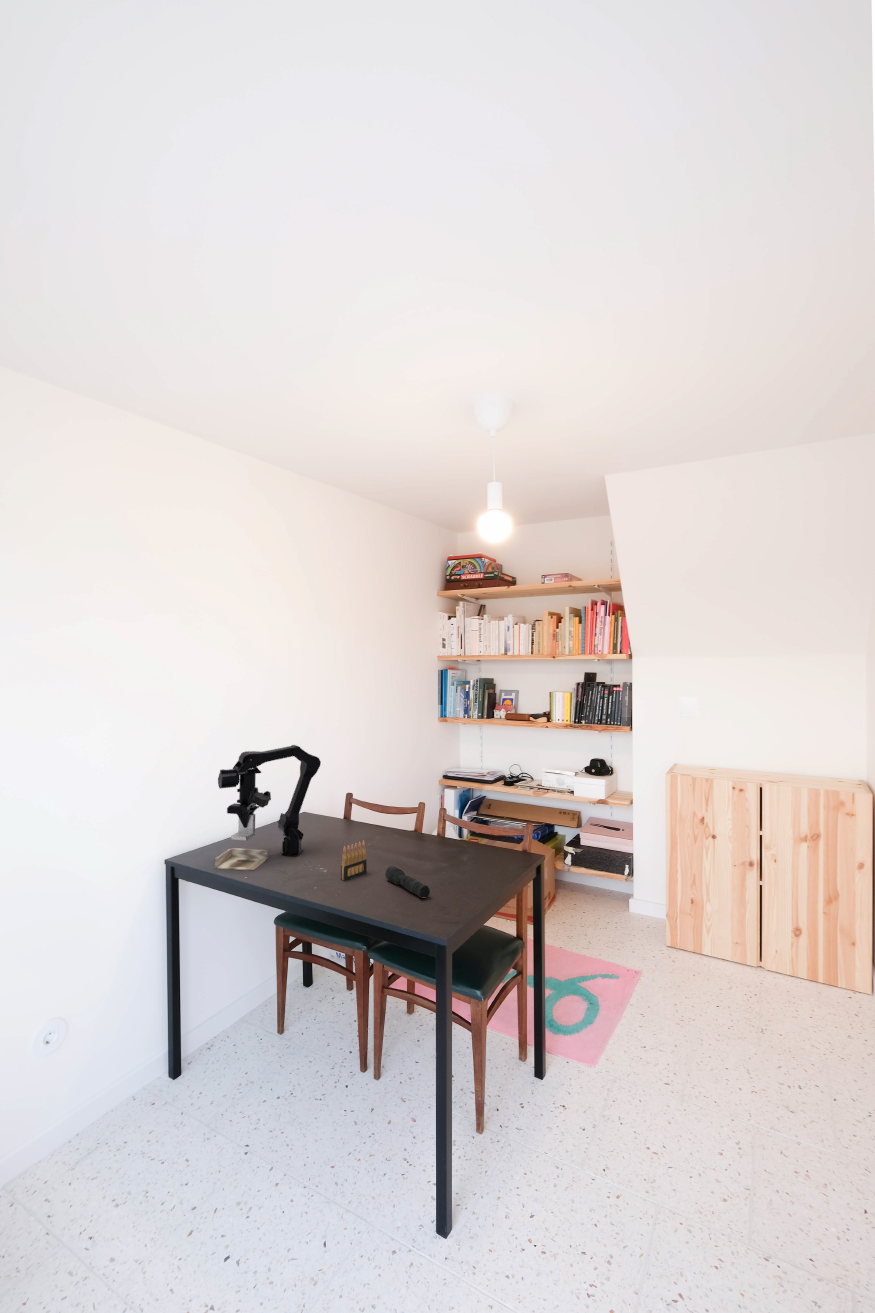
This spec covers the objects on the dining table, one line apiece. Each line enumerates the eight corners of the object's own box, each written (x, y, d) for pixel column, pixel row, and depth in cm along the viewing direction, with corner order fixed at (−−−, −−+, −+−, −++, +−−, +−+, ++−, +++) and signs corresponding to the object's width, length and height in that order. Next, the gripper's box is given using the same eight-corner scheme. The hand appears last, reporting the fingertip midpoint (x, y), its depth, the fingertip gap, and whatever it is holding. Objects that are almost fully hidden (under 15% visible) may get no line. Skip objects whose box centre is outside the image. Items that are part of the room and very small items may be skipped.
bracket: (240, 834, 222) (240, 813, 222) (254, 835, 221) (255, 814, 221) (231, 839, 216) (231, 817, 216) (245, 840, 215) (246, 818, 215)
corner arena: (267, 859, 224) (267, 850, 224) (254, 870, 212) (254, 861, 212) (229, 857, 225) (230, 848, 225) (214, 868, 214) (214, 858, 214)
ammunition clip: (343, 881, 203) (344, 847, 203) (340, 880, 204) (340, 845, 204) (366, 873, 211) (367, 840, 211) (363, 872, 212) (363, 839, 212)
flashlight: (396, 878, 207) (396, 864, 207) (430, 898, 191) (431, 883, 191) (384, 881, 204) (384, 867, 204) (418, 902, 188) (418, 886, 188)
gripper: (254, 792, 210) (253, 836, 210) (278, 782, 229) (277, 822, 229) (226, 790, 212) (225, 833, 212) (252, 780, 231) (251, 819, 231)
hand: (246, 827), depth 221 cm, fingers closed on bracket
